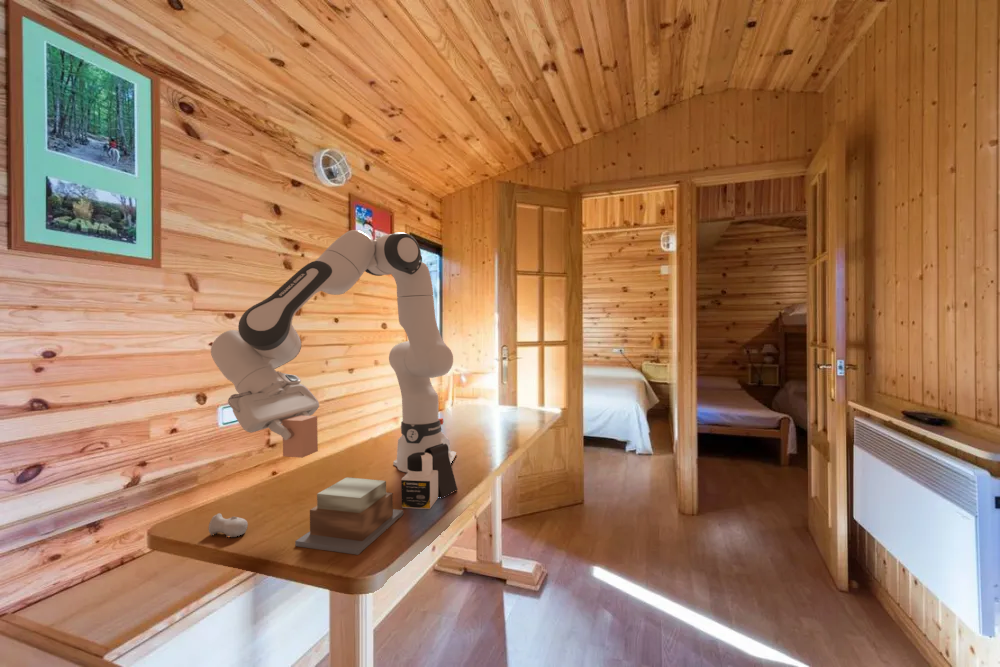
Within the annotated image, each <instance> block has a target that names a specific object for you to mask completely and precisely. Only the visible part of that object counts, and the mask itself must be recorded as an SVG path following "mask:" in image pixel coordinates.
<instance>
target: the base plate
mask: <svg viewBox="0 0 1000 667" xmlns="http://www.w3.org/2000/svg"><path fill="white" fill-rule="evenodd" d="M403 515H404V510H403V509H396V508H393V516H391V517H390V518H389V519H388V520H387V521H386V522H384V523H383V524H382V525H381V526H380V527H379V528H377V529H376V530H375V531H374V532H373V533H371V534H370V535H369V536H368V537H367V538H366V539H364V540H363V541H357V540H349V539H341V538H334V537H326V536H318V535H311V534H310V531H308V532H306V533H305V534H304V535H302V536H300V537H299V538H298V539H296V540H295V547H299V548H306V549H307V548H308V549H314V550H323V551H329V552H336V553H344V554H350V555H360V554H361V553H362V552H363V551H365V549H366V548H368V547H369V546H370V545H371V544H372V543H373V542H374V541H375V540H377V539H378V538H379V537H380V536H381V535H382V534H383V533H384V532H385V531H387V530H388V529H389V528H390V527H391V526H392V525H393V524H394V523H396V522H397V521H398V520H399V519H400V518H401V517H403ZM398 518H399V519H398ZM397 519H398V520H397ZM396 520H397V521H396ZM395 521H396V522H395ZM386 529H387V530H386Z"/></svg>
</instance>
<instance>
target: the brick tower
mask: <svg viewBox="0 0 1000 667" xmlns="http://www.w3.org/2000/svg"><path fill="white" fill-rule="evenodd" d="M316 499H317V500H316V504H317V505H315V506H314V507H313V508H311V509H309V532H310V534H311V535H318V536H326V537H334V538H341V539H349V540H357V541H363V540H364V539H366V538H367V537H368V536H369V535H370V534H371V533H373V532H374V531H375V530H376V529H377V528H379V527H380V526H381V525H382V524H383V523H384V522H386V521H387V520H388V519H389V518H390V517H391V516H393V509H394V508H393V504H394V503H393V502H394V500H393V499H394V498H393V492H387V481H386V480H383V479H382V480H379V479H369V478H357V477H347V476H346V477H344V478H343V479H341V480H339V481H337V482H336V483H334V484H332V485H331V486H328V487H326V488H325V489H323V490H322V491H319V492H318V493H316Z"/></svg>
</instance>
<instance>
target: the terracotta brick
mask: <svg viewBox="0 0 1000 667" xmlns="http://www.w3.org/2000/svg"><path fill="white" fill-rule="evenodd" d="M281 425H283V426H284V427H286V428H287V429H289V428H290V429H291V430H292V431H293V432H294V436H293V437H292V438H291V439H288V440H284V439H283V438H282V456H283V457H288V458H290V457H291V458H305V457H307V456H310V455H311V454H314V453H317V452H319V449H318V448H319V447H318V445H319V444H318V441H319V440H318V416H317V415H310V416H302V415H298V416H294V417H291V418H287V419H284V420H282V424H281Z"/></svg>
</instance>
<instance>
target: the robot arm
mask: <svg viewBox="0 0 1000 667" xmlns="http://www.w3.org/2000/svg"><path fill="white" fill-rule="evenodd" d="M364 272H366V274H369V275H371V276H375V277H376V276H377V277H380V276H389V275H391V276H392V278H393V280H394V281H395V284H396V301H397V314H398V323H399V325H400V327H402V328H403V330H404V332H405V334H406V336H407V340H406V341H403V342H400V343H398V344H395V345H394V346H393V347H392V348H391V350H390V351H389V356H388V361H389V364H390V367H391V368H392V370H393V371H394V372H395V375H396V378H397V381H398V385H399V390H400V394H401V409H402V411H401V412H402V421H401V424H400V433H401V436H400V437H399V438H398V439H397V448H396V459H395V460H393V466H395V467H397V470H398V471H400V472H403V473H408V470H407V458H408V456H409V455H411V454H413V453H418V452H425V449H427V448H430V447H433V446H436V445H439V444H442V443H443V444H447V446H448V448H449V451H448V455H449V459H450V463H452V461H453V459H454V457H455V455H456V453H457V451H454V450H451V446H450V439H449V437H447V436H446V434H445V433H443V432H442V430H443V429H442V426H443V425H444V418H440V417H439V394H438V393H437V391H436V390H435V389H434V387H433V385H432V382H431V379H433V378H439V377H442V376H444V375H447V374H448V373H449V372H450V370H452V366H453V364H454V354H453V352H452V349H450V348H449V346H448V345H447V344H446V343H445V342H444V340H443V337H442V336H441V335H442V334H441V333H440V330H439V327H438V325H437V319H436V311H435V298H434V291H433V290H434V288H433V284H432V282H433V281H432V277H431V273H430V270H429V267H428V266H427V264H426V263H425V262H424V261H423V257H422V253H421V247H420V245H419V243H418V241H417V240H416V239H415V237H414V236H413V235H411V234H409V233H406V232H394V233H390V234H386V235H382V236H379V237H378V238H376V239H372V238H371V237H370V236H369V235H368V234H366V233H364V232H363V231H361V230H358V229H357V230H356V229H352V230H348V231H346V232H345V233H344V234H342V235H341V236H340V237H338V238H336V239H335V241H333V242H332V243H331V244H330V245H329V246H328V247H327V248H326V249H325V250H324V251H323V252H322V253H321V255H320V256H319V257H318V258H316V259H315V260H314V261H310V262H309V263H307V264H306V265H304V266H302V267H301V269H299V270H297V272H296V273H295V274H293V275H292V276H291V277H290V278H289V279H288V280H286V281H285V283H283V284H282V285H281V286H280V287H279V288H278V289H277V290H275V291H274V292H273V293H272V294H271V295H270V296H268V297H267V298H266V299H264V300H262V301H260V302H258V303H256V304H254V305H252V306H251V307H249V308H248V309H247V310H246V311H244V313H243V314H242V315H241V316H240V319H239V321H238V330H237V329H229V330H226V331H224V332H223V333H221V334H220V335H218V336H217V338H215V340H214V341H213V342H212V344H211V347H210V354H211V358H212V360H213V361H214V364H215V365H216V367H217V368H218V369H219V371H220V373H222V375H223V376H224V377H225V379H227V380H228V381H229V382H231V383H232V384H233V385H234V388H235V391H236V393H234V394H231V395H230V397H229V398H228V399H227V403H228V405H229V407H230V408H231V409H232V412H233V414H234V416H235V418H236V420H237V422H238V423H239V425H240V426H241V428H242V430H244V431H246V432H247V433H252V434H253V433H256V432H259V431H261V430H265V429H269V430H270V431H271V432H273V433H274V434H277V435H279V436H281V438H282V440H283V439H284V440H288V439H291V438H292V437H293V436H294V432H293V431H292V430H291V429H290V428H289V429H287V428H286V427H284V426H283V425H282V420H284V419H287V418H291V417H294V416H298V415H302V416H313V415H314V414H315V413H316V412H317V410H318V409H319V407H320V402H319V400H318V399H317V398H316V395H314V394H313V392H312V391H311V390H310V389H309V388H308V387H307V386H306V385H304V384H302V383H301V382H302V380H301V378H300V377H299V376H298V375H296V374H289V373H284V372H282V371H279V370H278V371H276V369H277V368H280V367H282V366H284V365H286V364H288V363H289V362H291V361H293V360H294V359H296V358H297V356H298V355H299V353H300V352H301V349H302V339H301V337H300V336H299V334H298V332H297V330H296V329H295V328H294V326H293V319H294V316H295V314H296V313H298V311H299V310H300V309H302V307H303V306H304V305H305V304H306V303H308V302H309V300H310V299H312V297H314V296H315V295H316V294H317V293H320V292H323V293H326V294H328V295H333V296H338V295H344V294H345V293H347V292H348V291H349V290H350V289H351V288H353V286H354V285H355V284H356V283H357V282H358V281H359V280H360V279H361V277H362V275H363V274H364ZM453 462H454V461H453ZM452 464H453V463H452Z"/></svg>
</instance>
